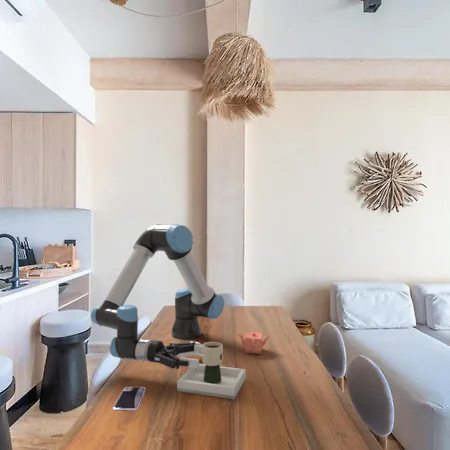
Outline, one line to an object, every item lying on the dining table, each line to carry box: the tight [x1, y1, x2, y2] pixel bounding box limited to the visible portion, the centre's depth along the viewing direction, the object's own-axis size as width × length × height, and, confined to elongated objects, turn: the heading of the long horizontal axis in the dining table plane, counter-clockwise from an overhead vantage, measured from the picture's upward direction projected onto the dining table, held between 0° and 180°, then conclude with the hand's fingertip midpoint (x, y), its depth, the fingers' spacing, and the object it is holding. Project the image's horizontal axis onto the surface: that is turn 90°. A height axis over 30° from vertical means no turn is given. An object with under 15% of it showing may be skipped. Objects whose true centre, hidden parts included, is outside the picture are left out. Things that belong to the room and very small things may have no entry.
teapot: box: [236, 331, 271, 355], centre depth 161 cm, size 12×15×8 cm
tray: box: [176, 363, 247, 400], centre depth 127 cm, size 16×20×4 cm
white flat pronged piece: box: [175, 340, 203, 358], centre depth 151 cm, size 2×11×18 cm
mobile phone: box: [112, 386, 147, 411], centre depth 117 cm, size 8×1×15 cm
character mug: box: [202, 341, 224, 383], centre depth 127 cm, size 11×7×13 cm, turn 9°
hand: (205, 356), depth 128 cm, fingers open, 13 cm apart
